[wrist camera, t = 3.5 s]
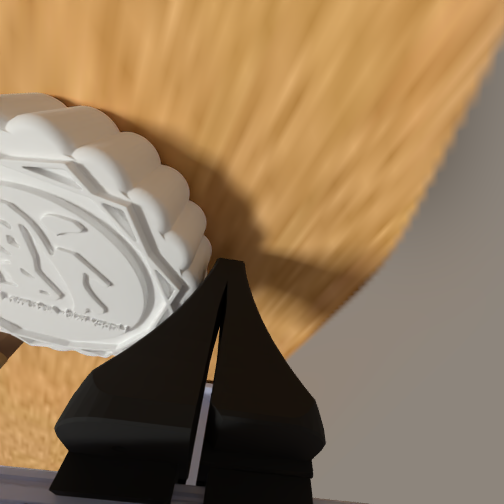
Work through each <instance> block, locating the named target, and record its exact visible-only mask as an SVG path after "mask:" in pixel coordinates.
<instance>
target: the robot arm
mask: <svg viewBox="0 0 504 504" xmlns="http://www.w3.org/2000/svg"><path fill="white" fill-rule="evenodd" d="M219 327H220V331H219ZM218 331H219V343H218V355H217V363H216V369H215V375H214V381H213V384H211V383H206V380H207V375H208V370H209V365H210V360H211V356H212V352H213V348H214V345H215V341H216V338H217V334H218ZM54 429H55V432H56V434H57V437H58V438H59V439H60V440H61V442H62V443H63V444H64V446H65V447H66V448H67V449H68V451H69V452H68V453H67V455H66V457H65V459H64V461H63V463H62V465H61V467H60V469H59V471H49V470H39V469H30V468H20V467H10V466H1V465H0V504H367V503H358V502H357V503H356V502H348V501H338V500H328V499H319V498H312V489H311V480H310V478H313V468H312V459H313V458H314V457H315V456H316V455H317V454H318V453H319V452H320V451H321V450H322V449H323V447H324V446H325V444H326V442H325V434H324V428H323V424H322V421H321V417H320V414H319V410H318V407H317V404H316V401H315V399H314V398H313V397H312V396H311V394H310V393H309V392H308V391H307V389H306V388H305V387H304V386H303V385H302V383H301V382H300V380H299V379H298V378H297V376H296V375H295V374H294V372H293V371H292V369H291V368H290V367H289V365H288V364H287V362H286V361H285V359H284V357H283V356H282V354H281V353H280V351H279V350H278V348H277V346H276V345H275V343H274V342H273V340H272V338H271V336H270V334H269V333H268V331H267V329H266V327H265V325H264V323H263V321H262V319H261V316H260V314H259V312H258V309H257V307H256V304H255V302H254V299H253V296H252V293H251V290H250V287H249V284H248V280H247V275H246V270H245V263H244V262H243V261H237V260H231V259H225V258H218V259H217V261H216V263H215V265H214V266H213V268H212V269H211V271H210V272H209V274H208V275H207V277H206V278H205V279H204V280H203V282H202V283H201V284H200V286H199V287H198V288H197V289H196V290H195V291H194V292H193V293H192V295H191V296H190V297H189V298H188V299H187V300H186V301H185V302H184V303H183V304H182V305H181V306H180V307H179V308H178V309H177V310H176V311H175V312H174V313H173V314H172V315H170V316H169V317H168V318H167V319H166V320H165V321H163V322H162V323H161V324H160V325H159V326H157V327H156V328H155V329H154V330H152V331H151V332H150V333H148V334H147V335H146V336H144V337H143V338H141V339H140V340H139V341H137V342H136V343H134V344H133V345H132V346H130V347H129V348H127V349H126V350H124V351H123V352H121V353H120V354H118V355H116V356H115V357H113V358H112V359H110V360H108V361H107V362H105V363H104V364H102V365H100V366H99V367H97V368H95V369H94V370H92V372H91V373H90V374H89V375H88V376H87V378H86V379H85V380H84V381H83V383H82V384H81V385H80V387H79V388H78V389H77V391H76V392H75V393H74V395H73V396H72V398H71V399H70V401H69V403H68V405H67V406H66V408H65V410H64V411H63V413H62V415H61V416H60V418H59V420H58V421H57V423H56V425H55V427H54Z"/></svg>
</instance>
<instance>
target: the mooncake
mask: <svg viewBox="0 0 504 504" xmlns="http://www.w3.org/2000/svg"><path fill="white" fill-rule="evenodd" d="M189 196H190V191H189V186H188V183H187V181H186V180H185V178H184V177H183V176H182V174H181V173H179V172H178V171H177V170H175V169H174V168H172V167H170V166H166V165H161V161H160V157H159V154H158V152H157V150H156V149H155V147H154V146H153V145H152V144H151V143H150V142H149V141H148V140H147V139H146V138H144V137H143V136H141V135H139V134H136V133H133V132H120V131H119V129H118V127H117V126H116V124H115V123H114V122H113V121H112V119H110V118H109V117H108V116H107V115H106V114H105V113H103V112H102V111H100V110H98V109H96V108H93V107H90V106H75V107H67V106H66V105H64V104H63V103H62V102H61V101H59V100H58V99H56V98H54V97H52V96H50V95H47V94H43V93H17V94H0V332H4V333H8V334H11V335H13V336H15V337H17V338H19V339H21V340H22V341H24V342H26V343H27V344H29V345H31V346H43V347H49V348H51V349H54V350H59V351H69V350H74V351H77V352H79V353H81V354H84V355H88V356H100V357H104V358H107V357H109V356H111V355H115V356H116V355H118V354H120V353H121V352H123V351H124V350H126V349H127V348H129V347H130V346H132V345H133V344H134V343H136V342H137V341H139V340H140V339H141V338H143V337H144V336H146V335H147V334H148V333H150V332H151V331H152V330H154V329H155V328H156V327H157V326H159V325H160V324H161V323H162V322H163V321H165V320H166V319H167V318H168V317H169V316H170V315H172V314H173V313H174V312H175V311H176V310H177V309H178V308H179V307H180V306H181V305H182V304H183V303H184V302H185V301H186V300H187V299H188V298H189V297H190V296H191V295H192V293H193V292H194V291H195V290H196V289H197V288H198V287H199V286H200V284H201V283H202V282H203V280H204V279H205V278H206V277H207V267H208V264H209V260H210V257H211V254H212V247H211V243H210V241H209V240H208V238H207V237H206V236H205V235H203V234H204V232H205V229H206V224H207V222H206V216H205V214H204V212H203V210H202V209H201V208H200V207H199V206H198V205H197V204H196V203H194V202H192V201H190V200H189Z"/></svg>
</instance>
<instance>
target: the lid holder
mask: <svg viewBox="0 0 504 504" xmlns="http://www.w3.org/2000/svg"><path fill="white" fill-rule="evenodd" d="M23 342H24V341H22V340H21V339H19V338H17V337H15V336H13V335H11V334H8V333H4V332H0V368H1V367H2V366H3V365H4V364H5V363H6V362H7V360H8V359H9V357H10V356H11V355H12V354H13V353H14V352H15V351H16V350H17V349H18V348H19V347H20V345H21V344H22V343H23Z"/></svg>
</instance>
